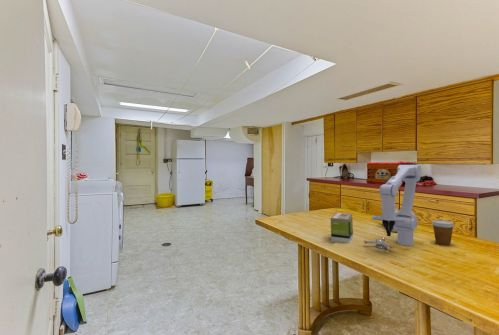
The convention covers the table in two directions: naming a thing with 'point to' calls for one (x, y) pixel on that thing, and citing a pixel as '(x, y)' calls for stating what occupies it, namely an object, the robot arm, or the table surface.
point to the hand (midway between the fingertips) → (388, 235)
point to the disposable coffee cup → (443, 231)
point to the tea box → (341, 227)
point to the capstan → (380, 243)
